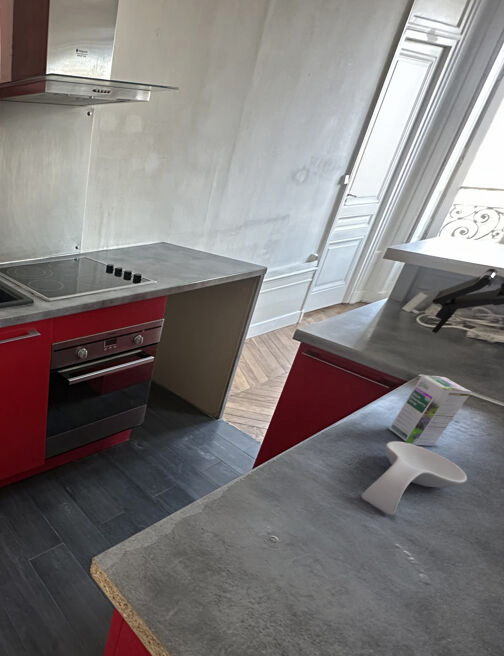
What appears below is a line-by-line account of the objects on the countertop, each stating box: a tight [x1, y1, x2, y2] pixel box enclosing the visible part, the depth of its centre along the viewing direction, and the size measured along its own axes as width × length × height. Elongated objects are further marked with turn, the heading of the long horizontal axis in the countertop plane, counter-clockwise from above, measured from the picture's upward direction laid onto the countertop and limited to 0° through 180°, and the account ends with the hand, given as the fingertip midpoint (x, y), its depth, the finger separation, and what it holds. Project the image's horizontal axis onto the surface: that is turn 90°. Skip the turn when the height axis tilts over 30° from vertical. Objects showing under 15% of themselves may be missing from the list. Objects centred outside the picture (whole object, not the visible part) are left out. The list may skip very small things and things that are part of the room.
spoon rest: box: [360, 440, 468, 516], centre depth 77 cm, size 24×12×7 cm, turn 121°
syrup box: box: [388, 375, 472, 447], centre depth 88 cm, size 6×6×14 cm
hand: (482, 345), depth 78 cm, fingers open, 13 cm apart
